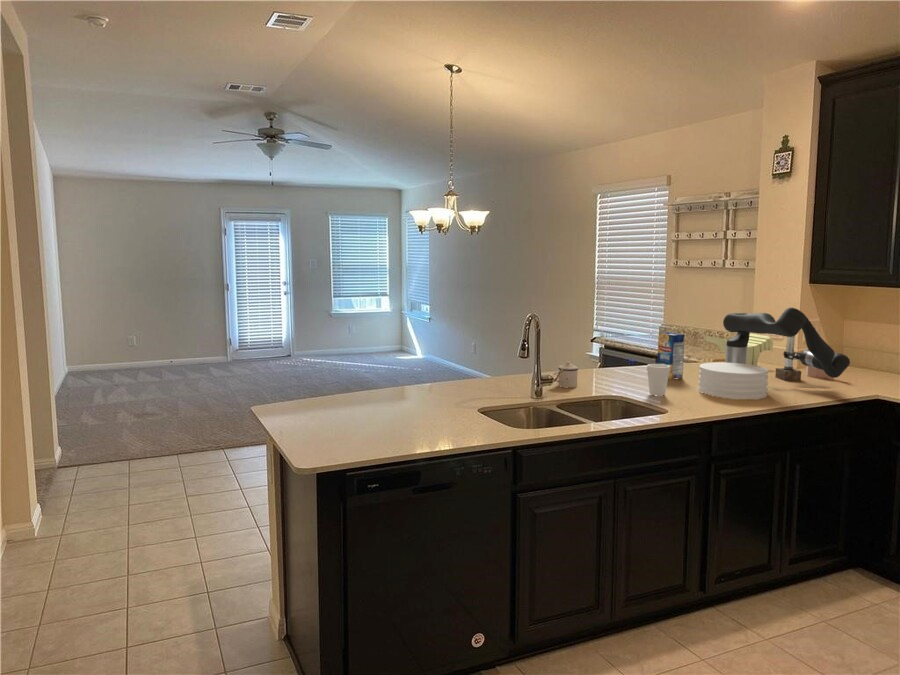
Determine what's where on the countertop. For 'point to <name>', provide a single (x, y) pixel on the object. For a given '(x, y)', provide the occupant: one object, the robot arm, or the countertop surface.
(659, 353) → the beverage box
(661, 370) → the foam cup
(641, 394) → the countertop surface
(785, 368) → the tongs
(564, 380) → the teacup with lid
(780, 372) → the tong rest
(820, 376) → the utensil crock
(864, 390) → the countertop surface
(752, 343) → the slatted curved stool
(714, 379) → the plate stack
